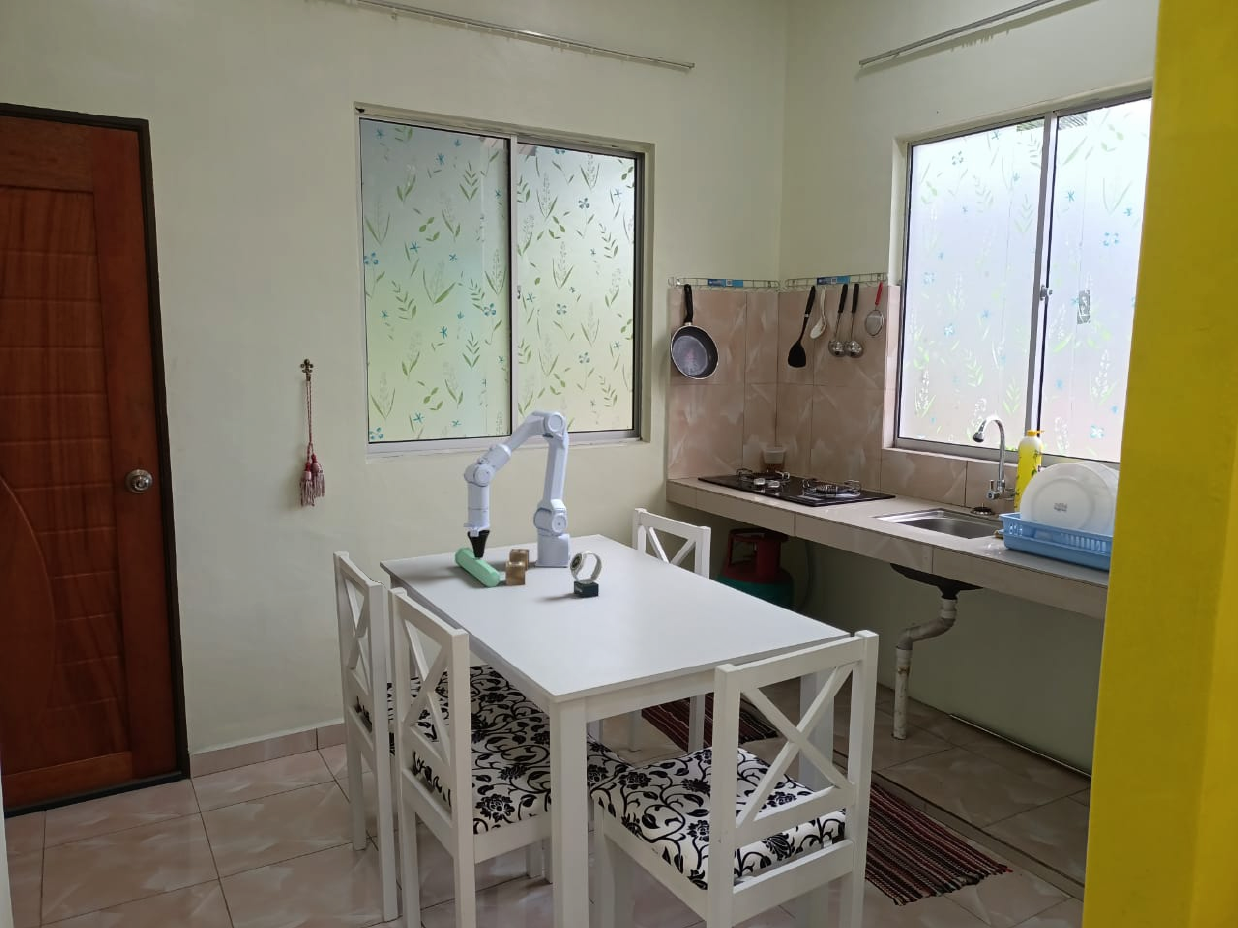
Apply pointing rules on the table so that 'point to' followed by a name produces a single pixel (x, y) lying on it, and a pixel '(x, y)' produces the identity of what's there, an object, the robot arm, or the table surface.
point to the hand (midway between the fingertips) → (478, 557)
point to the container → (477, 567)
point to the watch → (588, 585)
